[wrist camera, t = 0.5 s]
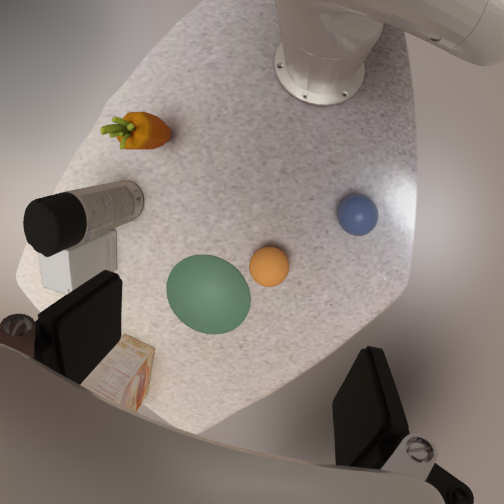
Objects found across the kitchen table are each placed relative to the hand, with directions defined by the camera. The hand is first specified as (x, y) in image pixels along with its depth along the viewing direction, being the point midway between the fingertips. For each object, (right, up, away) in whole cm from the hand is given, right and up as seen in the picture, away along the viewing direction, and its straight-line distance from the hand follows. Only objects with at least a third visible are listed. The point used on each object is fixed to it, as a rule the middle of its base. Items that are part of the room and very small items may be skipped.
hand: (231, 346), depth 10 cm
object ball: (+3, +1, +31) cm, 31 cm away
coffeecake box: (-23, -20, +45) cm, 54 cm away
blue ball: (+15, +8, +27) cm, 32 cm away
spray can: (-19, +12, +34) cm, 41 cm away
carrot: (-12, +21, +30) cm, 39 cm away
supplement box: (-26, +4, +38) cm, 46 cm away
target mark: (-6, -4, +37) cm, 38 cm away
